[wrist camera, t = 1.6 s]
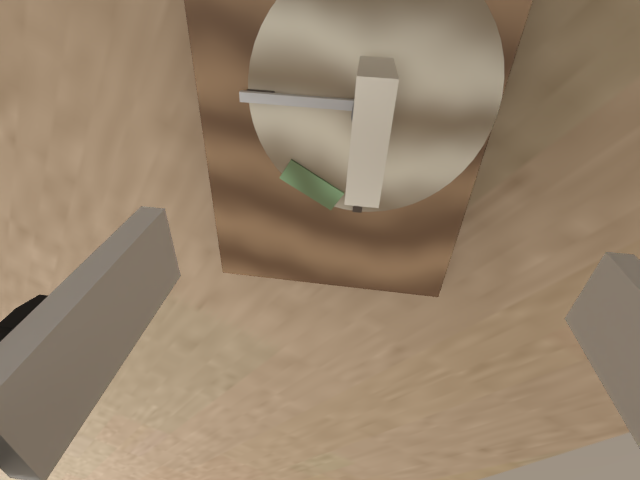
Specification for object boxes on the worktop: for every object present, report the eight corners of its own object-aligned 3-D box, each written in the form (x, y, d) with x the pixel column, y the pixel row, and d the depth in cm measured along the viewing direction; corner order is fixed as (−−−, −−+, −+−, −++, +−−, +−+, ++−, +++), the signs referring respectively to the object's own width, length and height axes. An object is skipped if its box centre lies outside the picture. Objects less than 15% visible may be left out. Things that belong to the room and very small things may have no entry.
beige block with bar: (238, 40, 25) (185, 63, 18) (394, 51, 24) (403, 79, 17) (246, 140, 29) (204, 191, 22) (379, 151, 28) (382, 208, 21)
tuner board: (180, -127, 22) (161, -137, 20) (556, -113, 21) (575, -123, 19) (228, 260, 40) (221, 275, 38) (435, 283, 38) (438, 299, 36)
